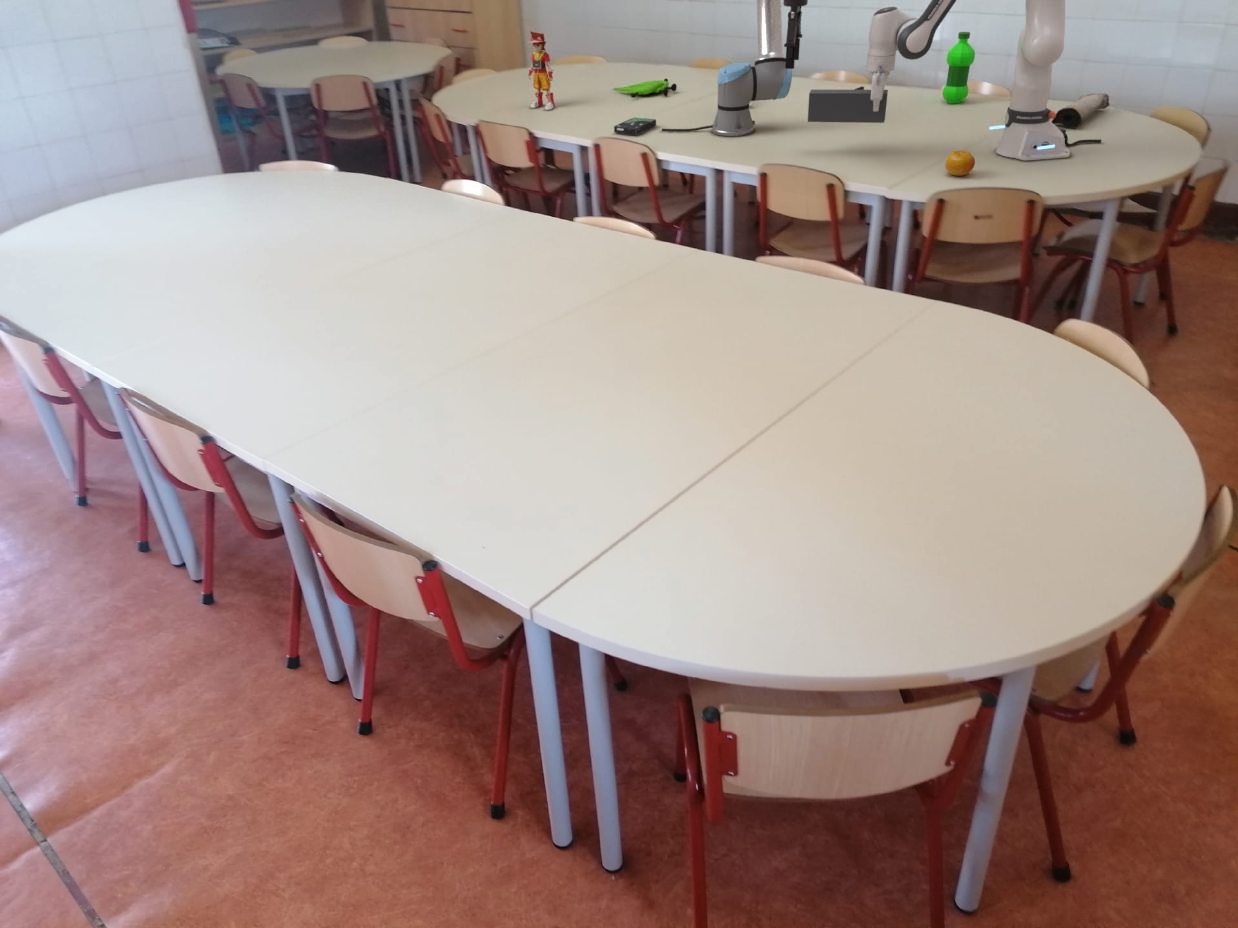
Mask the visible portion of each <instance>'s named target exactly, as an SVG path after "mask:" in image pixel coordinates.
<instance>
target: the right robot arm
mask: <svg viewBox="0 0 1238 928" xmlns="http://www.w3.org/2000/svg"><path fill="white" fill-rule="evenodd" d="M956 2H957V0H930V1H929V3H928V4H927V6H925V9H924V10H923V11H922V13H921V15H920V16H919V17H916V16H912V15H910V14H907V13H905V12H904V11H901V10H900V9H899V8H898V7H896V6H888V7H884V8H880V9H878V10H876V12H874V14H872V17H871V21H870V26H869V32H868V43H869V44H868V45H869V47H868V50H867V54H866V55H867V56H866V66H865V70H866V71H868V72H869V75H870V77H872V80H871V87H870V90H871V100H873V111H874V112H877V111H878V110H879V103H880V100H882V97H883V93H884V90H885V89H886V83H887V80H888V77H889V76H890V74H891V72H892V71H894V70H895V67H896V58H897V57H896V56H897V52H898V53H899V55H901V56H902V58H904V59H907V60H918V59H920V58H923V57H924V56H925V55H926V54H928V52H929V51H930V49H931V47H932V44H933V40H934V37H935V34H936V31H937V30H938V28H939V27H940V25H941V24H942V22H943V21H944V19H945V18H946V16H947V15H948V13H949V12H950V11H951V9H952V8H953V7H954V5H955V4H956ZM1024 5H1025V26H1024V27H1023V28H1022V29H1021V31H1020V33H1019V34H1018V41H1017V48H1016V56H1015V64H1014V65H1015V66H1014V79H1013V85H1012V90H1011V91H1012V92H1011V96H1010V102H1009V106H1008V107H1007V110H1006V113H1005V118H1004V124H1003V125H993V126H989V130H997V129H1003V132H1002V135H1001V138H1000V141H999V142H998V145H997V147H996V149H995V152H996V154H997V155H1000V156H1003V157H1006V158H1011V159H1017V160H1020V161H1023V162H1024V161H1025V162H1026V161H1039V160H1040V161H1041V160H1052V159H1053V160H1054V159H1064V158H1065V159H1067V158H1069V157H1070V155H1071V150H1070V149H1069V148H1070V147H1073V146H1076V145H1078V144H1088V143H1089V144H1091V143H1093V144H1094V143H1095V144H1096V143H1097V144H1098V143H1102V139H1100V138H1099V139H1079V140H1076V141H1073V142H1072V143H1069V139H1068V138H1069V137H1068V134H1067V129H1065V128H1062V127H1061V128H1060V127H1058V126H1057V125H1056V124H1053V123H1052V120H1053V119H1054V117H1056V112H1055V111H1053V110H1051V109H1049V108H1047V105H1048V101H1049V96H1050V92H1051V86H1052V81H1053V79H1052V75H1053V64H1054V63H1056V62H1057V61H1058V60H1059V59H1060V58H1061V56H1062V54H1063V53H1064V48H1065V31H1066V29H1065V28H1066V0H1025V4H1024ZM1068 147H1069V148H1068Z"/></svg>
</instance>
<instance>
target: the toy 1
mask: <svg viewBox="0 0 1238 928" xmlns="http://www.w3.org/2000/svg"><path fill="white" fill-rule="evenodd" d="M529 33H530V35H531V36H528V37H527V38H528V39H529V40H528V41H527V43H529V44H530V43H531V44H532V48H533V50H534V51H533V52H532V55H531V58H530V59H531V63H530V66H528V74H527V75H528V76H527V77H528V79H529V80H531V75H532V74H533V84H532V85H533V86H532V87H533V88H534V89H535V90H536V92H534V95H535V97H536V100H535V101H533V102H531V105H530V108H531V109H535V108H538V107H542V106H544V101H543V100H544V99H543V95H544V92H546V94H545V97H546V99H547V103H546V104H545V106H544V110H546V111H549V110H553V109H554V107H555V106H556V105H555V99H554V92H551V91H550V90H551V86H552V84H551V82H552V81H553V80H554V77H553V73H554V71H555V70H554V69H552V68H551V63H550V61H551V59H550V58H551V57H550V54H549V53H548V52H547V50H546V48H545V46H546V44H547V41H545V35H544V33H543V32H542V33H539V32H535V31H529Z"/></svg>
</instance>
